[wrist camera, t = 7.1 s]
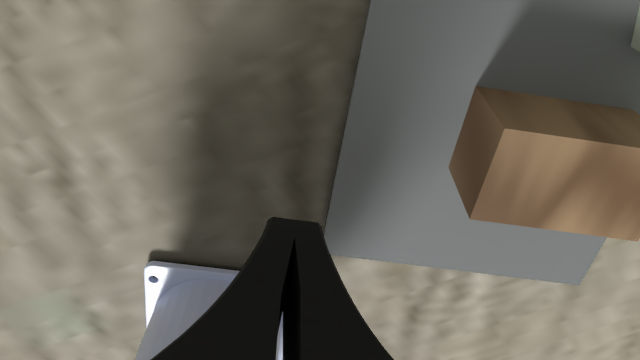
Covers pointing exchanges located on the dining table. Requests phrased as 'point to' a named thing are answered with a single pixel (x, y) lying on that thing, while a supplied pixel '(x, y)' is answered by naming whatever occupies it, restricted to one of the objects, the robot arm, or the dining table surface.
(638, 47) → the sage block
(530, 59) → the mat
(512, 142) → the walnut block
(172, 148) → the dining table surface
